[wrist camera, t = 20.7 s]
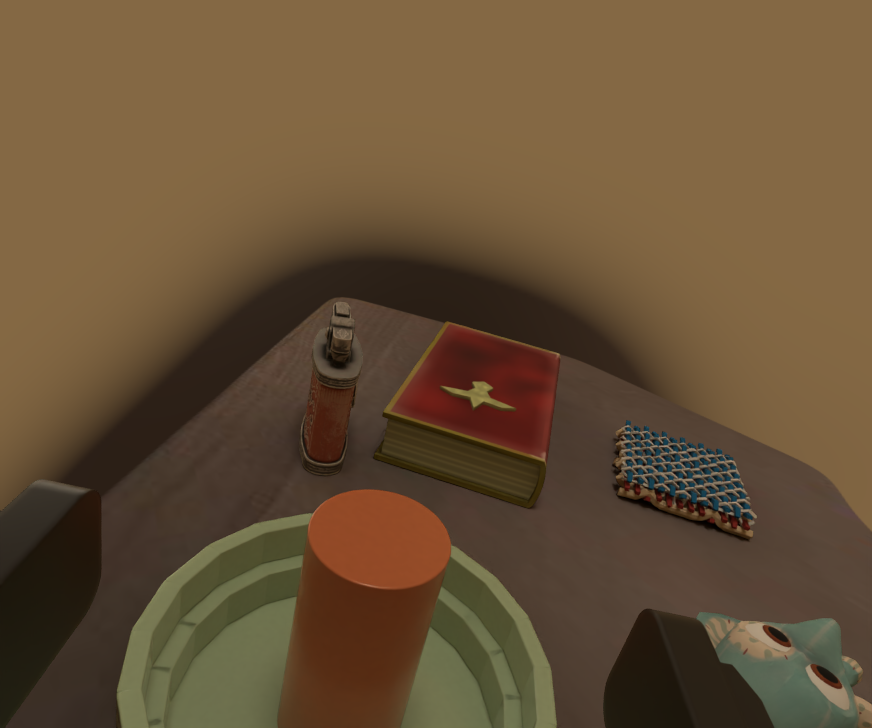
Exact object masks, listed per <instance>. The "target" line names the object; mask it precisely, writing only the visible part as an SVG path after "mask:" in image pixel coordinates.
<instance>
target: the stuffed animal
mask: <svg viewBox="0 0 872 728" xmlns="http://www.w3.org/2000/svg"><path fill="white" fill-rule="evenodd" d="M696 619H698V620H699V621H700V622H702V624H703V625H704V626H705V628H706V630H707V632H708V635H709V637H710V639H711V642H712V644H713V646H714V649H715V651H716V653H717V656H718V658H719V660H720V662H722V663H727V664H732V665H733V666H734V667H735V668H736V670H737V671H738V672H739V673H740V674H741V676H742V677H743V678H744V679H745V681H746V682H747V683H748V684H749V685H750V687H751V688H752V689H753V690H754V692H755V693H756V694H757V695H758V696H759V698H760V699H761V700H762V702H763V704H764V706H765V708H766V711H767V713H768V715H769V717H770V719H771V721H772V723H773V725H774V728H872V704H870V703H869V702H867V701H865V700H864V699H862V698H860V697H858V696H855V695H854V693H853V690H852V688H851V687H853V686H854V685H856V684H857V683H859V682H860V681H861V680H862V674H863V670H862V668H861V667H860V666H859V664H858V663H857V662H856V661H855V660H853V659H851V658H848V657H846V656H842V647H841V630H840V627H839V624H838V623H837V622H836V621H834V620H833V619H817V620H811V621H806V622H801V623H797V624H779V623H772V622H754V621H739V620H736V619H734V618H731V617H728V616H725V615H723V614H717V613H704V612H700V613H699V614H698V616H697V618H696Z"/></svg>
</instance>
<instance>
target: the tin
mask: <svg viewBox="0 0 872 728" xmlns="http://www.w3.org/2000/svg"><path fill="white" fill-rule="evenodd" d="M450 555H451V541H450V538H449V534H448V532H447V530H446V528H445V526H444V525H443V523H442V522H441V521H440V519H439V518H438V517H437V516H436V515H435V514H434V513H433V512H432V511H430V510H429V509H428V508H426V507H425V506H423V505H422V504H420V503H419V502H417V501H415V500H413V499H411V498H408V497H406V496H403V495H400V494H397V493H393V492H388V491H382V490H354V491H349V492H345V493H342V494H338V495H336V496H334V497H332V498H330V499H328V500H327V501H325V502H324V503H323V504H321V505H320V506H319V507H318V508H317V509H316V510H315V512H314V513H313V515H312V516H311V519H310V521H309V525H308V530H307V536H306V542H305V548H304V555H303V561H302V567H301V573H300V579H299V585H298V591H297V597H296V604H295V610H294V616H293V622H292V628H291V634H290V640H289V646H288V652H287V659H286V665H285V671H284V677H283V683H282V689H281V695H280V701H279V708H278V714H277V725H278V728H401V725H402V721H403V718H404V715H405V711H406V708H407V704H408V701H409V697H410V694H411V690H412V687H413V683H414V680H415V676H416V673H417V670H418V666H419V663H420V659H421V656H422V652H423V649H424V645H425V642H426V638H427V635H428V631H429V628H430V625H431V621H432V618H433V614H434V611H435V607H436V604H437V600H438V597H439V593H440V590H441V587H442V583H443V580H444V576H445V573H446V569H447V566H448V562H449V559H450Z"/></svg>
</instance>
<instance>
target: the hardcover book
mask: <svg viewBox="0 0 872 728" xmlns="http://www.w3.org/2000/svg"><path fill="white" fill-rule="evenodd" d="M559 366H560V355H559V354H558V353H555V352H551V351H548V350H544V349H541V348H537V347H534V346H531V345H527V344H524V343H520V342H517V341H513V340H510V339H506V338H503V337H499V336H496V335H492V334H489V333H485V332H482V331H478V330H475V329H472V328H468V327H465V326H461V325H458V324H454V323H451V322H447V321H446V323H445V324H444V326H443V327H442V329H441V330H440V331H439V333H438V334H437V336H436V337H435V339H434V340H433V341H432V343H431V344H430V346H429V347H428V349H427V350H426V351H425V353H424V354H423V356H422V357H421V359H420V360H419V362H418V363H417V364H416V366H415V367H414V369H413V370H412V372H411V373H410V374H409V376H408V377H407V379H406V380H405V382H404V383H403V384H402V386H401V387H400V389H399V390H398V392H397V393H396V394H395V396H394V397H393V399H392V400H391V402H390V403H389V404H388V406H387V407H386V409H385V410H384V412H383V416H382V417H385V418H388V424H387V429H386V433H385V438H384V440H383V442H382V443H381V445H380V446H379V448H378V449H377V451H376V453H375V454H374V459H377V460H380V461H383V462H386V463H389V464H393V465H396V466H399V467H402V468H405V469H408V470H411V471H414V472H417V473H421V474H424V475H427V476H430V477H433V478H436V479H439V480H442V481H445V482H448V483H452V484H455V485H458V486H461V487H464V488H467V489H470V490H473V491H476V492H480V493H483V494H486V495H489V496H492V497H495V498H498V499H501V500H504V501H508V502H511V503H514V504H517V505H520V506H523V507H526V508H530V507H531V506H532V505H534V503H535V501H536V500H537V498H538V496H539V494H540V492H541V489H542V487H543V483H544V479H545V473H546V466H547V458H548V450H549V443H550V435H551V427H552V419H553V412H554V404H555V396H556V389H557V381H558V373H559Z"/></svg>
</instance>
